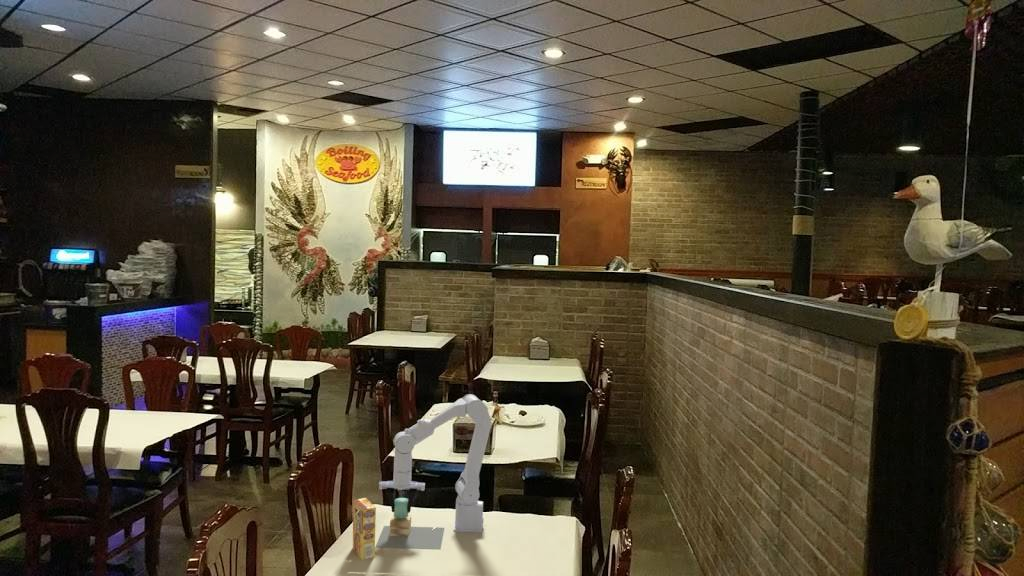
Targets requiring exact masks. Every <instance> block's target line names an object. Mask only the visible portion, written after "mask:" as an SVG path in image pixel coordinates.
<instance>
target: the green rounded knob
mask: <svg viewBox="0 0 1024 576" xmlns="http://www.w3.org/2000/svg"><path fill="white" fill-rule="evenodd" d="M393 514H394V517H395V518H406V517H408V515H409V513H408V497H407V498H406V497H398V498H395V500H394V512H393Z"/></svg>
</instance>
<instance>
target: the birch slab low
mask: <svg viewBox="0 0 1024 576" xmlns="http://www.w3.org/2000/svg"><path fill="white" fill-rule="evenodd" d="M411 527H412V522H411V523H410V527H409V529H390V536H409V533H410V529H411Z"/></svg>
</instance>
